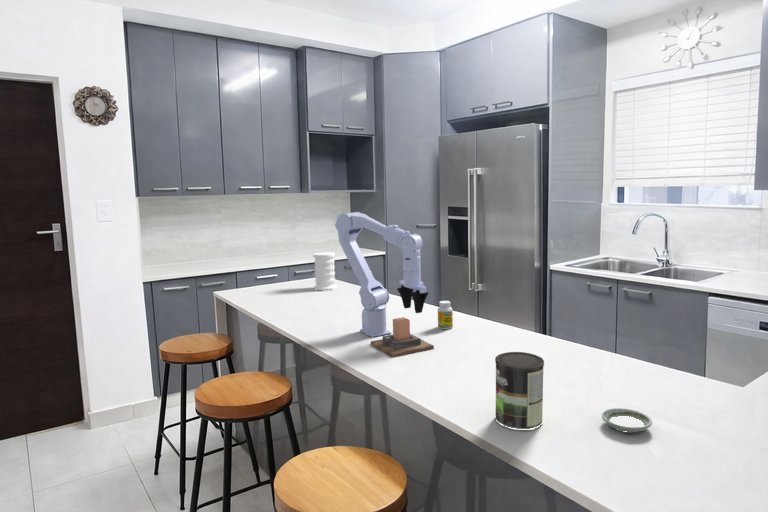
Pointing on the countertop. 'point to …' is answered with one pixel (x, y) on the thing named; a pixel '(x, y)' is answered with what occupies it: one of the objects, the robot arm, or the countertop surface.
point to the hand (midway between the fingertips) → (412, 310)
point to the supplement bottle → (445, 315)
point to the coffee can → (519, 389)
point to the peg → (401, 329)
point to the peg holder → (401, 345)
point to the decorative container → (324, 271)
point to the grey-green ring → (626, 412)
